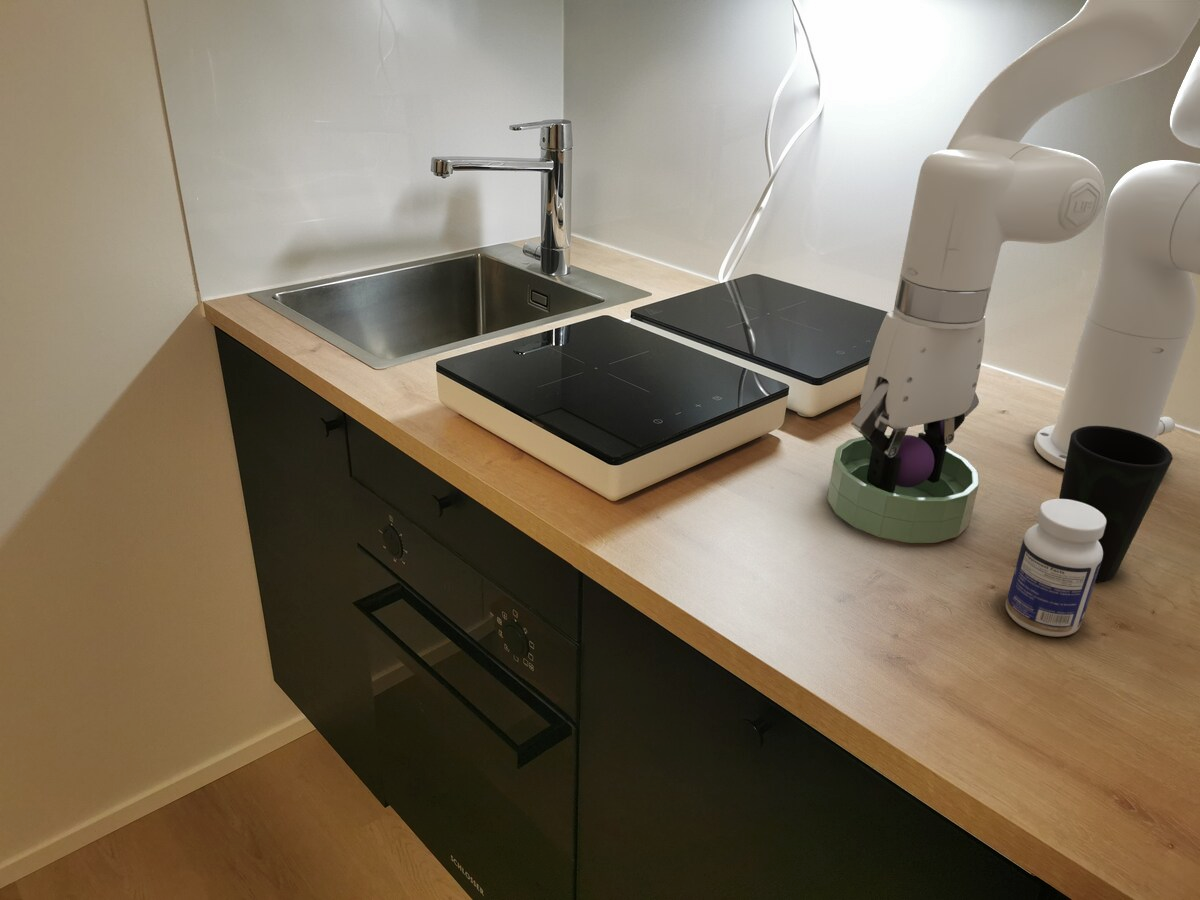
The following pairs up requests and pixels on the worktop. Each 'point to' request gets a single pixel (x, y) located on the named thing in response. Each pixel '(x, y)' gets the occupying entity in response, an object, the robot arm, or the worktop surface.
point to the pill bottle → (1057, 568)
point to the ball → (914, 461)
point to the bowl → (902, 498)
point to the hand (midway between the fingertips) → (902, 480)
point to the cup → (1114, 483)
